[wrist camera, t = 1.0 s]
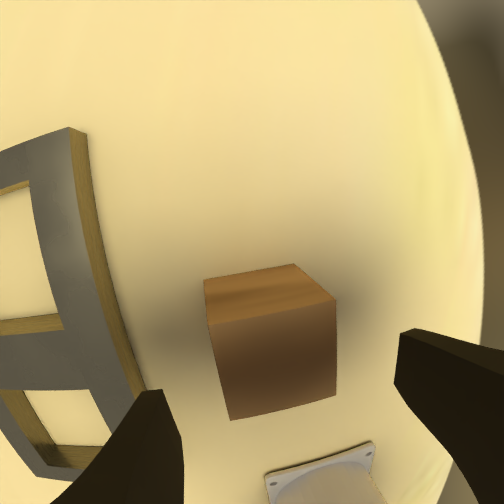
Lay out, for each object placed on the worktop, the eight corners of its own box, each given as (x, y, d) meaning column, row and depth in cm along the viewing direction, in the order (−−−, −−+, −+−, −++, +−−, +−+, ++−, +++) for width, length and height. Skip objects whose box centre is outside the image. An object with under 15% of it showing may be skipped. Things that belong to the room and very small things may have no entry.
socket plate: (176, 458, 15) (176, 485, 13) (43, 457, 14) (35, 478, 12) (86, 134, 11) (66, 126, 9) (-61, 191, 9) (-86, 195, 7)
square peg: (300, 340, 15) (336, 395, 10) (219, 357, 14) (230, 420, 10) (293, 263, 14) (335, 299, 9) (203, 279, 13) (207, 325, 9)
